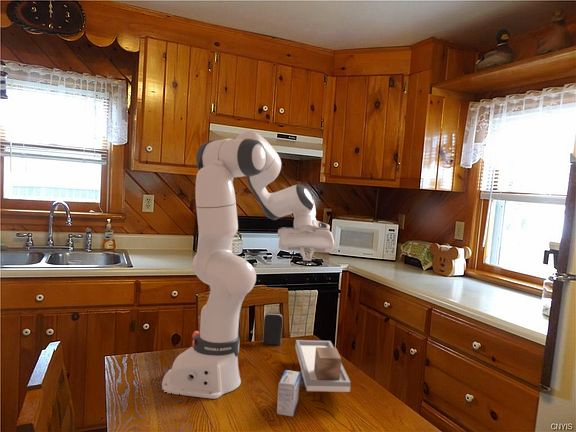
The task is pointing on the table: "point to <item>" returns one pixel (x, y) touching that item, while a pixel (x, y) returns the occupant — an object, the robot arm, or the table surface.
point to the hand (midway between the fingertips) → (307, 259)
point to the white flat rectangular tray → (307, 363)
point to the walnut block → (327, 364)
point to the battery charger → (272, 328)
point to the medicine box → (288, 393)
